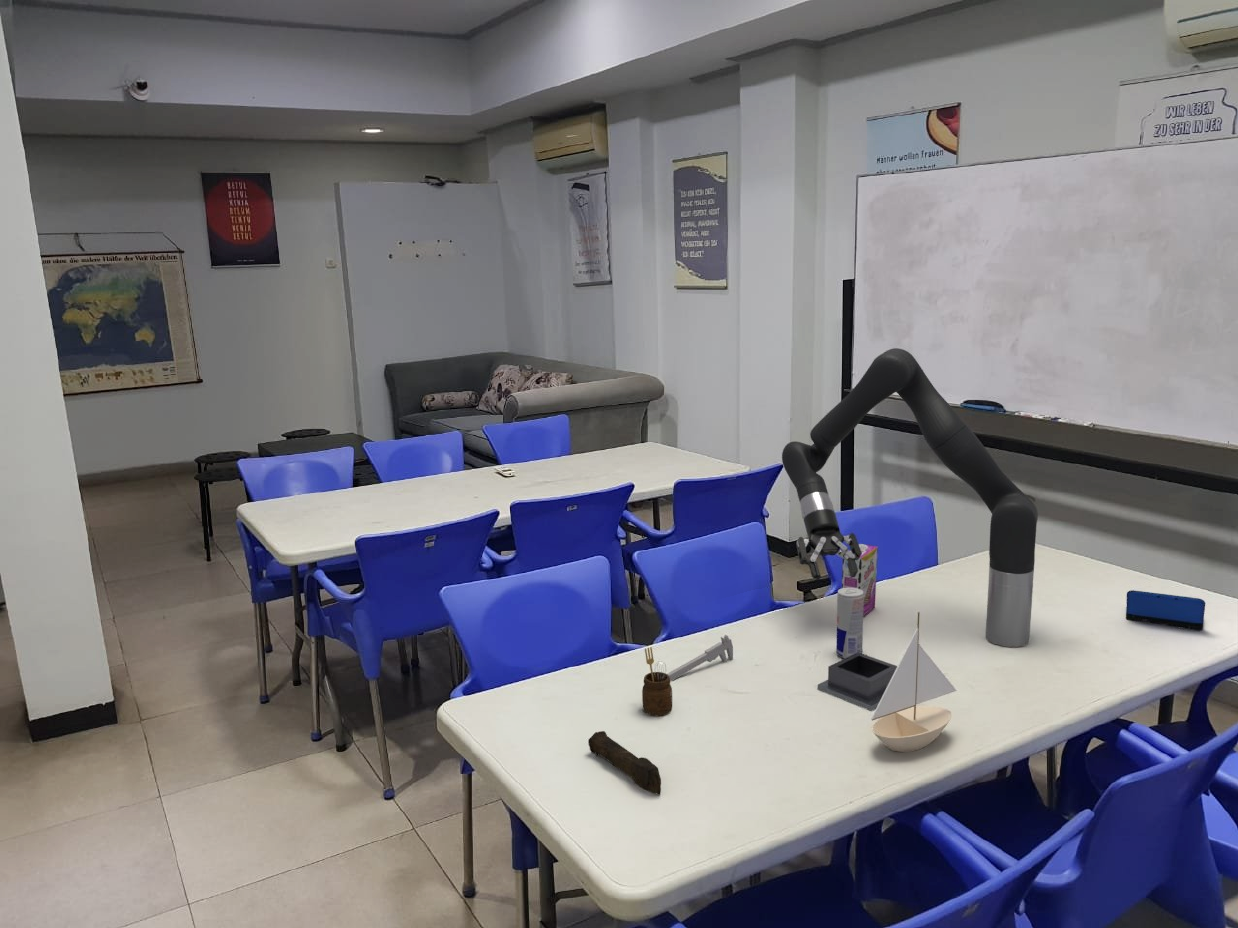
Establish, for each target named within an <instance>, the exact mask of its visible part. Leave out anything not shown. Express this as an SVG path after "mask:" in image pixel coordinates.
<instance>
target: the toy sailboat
mask: <svg viewBox="0 0 1238 928" xmlns="http://www.w3.org/2000/svg"><path fill="white" fill-rule="evenodd" d="M920 614H921V613H920V611H918V612H917V627H916V629H915V631H914V633H913V635H912V637H911V638H910V641H909V642H908V645H907V647H906V648H905V651H904V653H903V654H902V657H901V658H900V659H899V662H898V665H896V666H897V668H896V670H895V672H894V674H893V676H892V678H891V680H890V682H889V684H888V686H887V688H886V690H885V692H884V694H883V696H882V698H881V700H880V702H879V704H878V706H877V708H876V709H874V712H873V714H872V716H871V718H870V720H871V721H874V722H873V724H872V725H871V732H872V733H873V734H874V736H875V737H876V738H877V739H879V741H880V742H881V743H882V744H884V745H885V746H886V747H887V748H889V749H890V750H892V751H894V752H898V753H908V752H914V751H919V750H921V749H924V748H925V747H927V746H929V745H930V744H931V743H932V742H934V741H935V739H936V738H937V737H938V736H939V735H941V733H942V732H943V731H944V729H945V728H946V727H947V726H948V725H949V722H950V721H951V719H952V716H953V714H952V712H951V711H950V710H949V709H947V708H945V707H942V706H936V705H921V706H920V705H919V706H917V705H918V704H923V703H926V702H928V701H930V700H934V699H936V698H940V697H943V696H945V695H949V694H952V693H955V692H957V689H956V688H955V687H954V685H953V684H952V683H951V681H949V679H948V678H947V677H946V675H945V674H944V673H943V672H942V670H941V669H940V668H939V666H937V664H936V663H935V662H934V660H933V659H932V658H931V657H930V656H929V655H928V653H927V652H926V651H925V649H924V648H923V647H922V646H921V645H920V642H919V640H920V639H919V637H920V618H921V617H920ZM923 747H924V748H923Z"/></svg>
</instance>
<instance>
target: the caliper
mask: <svg viewBox="0 0 1238 928" xmlns="http://www.w3.org/2000/svg"><path fill="white" fill-rule="evenodd" d="M720 640H721V642H718V643H715V644H714V645H712V646H711V647H709V648H707V649H705V650H704V652H703V653H701V654H699V655H698V656H696V657H694V658H692V659H690V660H689V661H687V662H686V663H683V664H681V665H680V666H678V667H677V668H675V669H673V670H671V671H669V672H667V674H668V675H669V677H670V682H673V681H674V680H676V679H677V678H679V677H681V676H683V675H684V674H686V673H687V672H690V671H691V670H693V669H695V668H696V667H699V666H700V665H702V664H703V663H705V662H709V663H712V662H713V661H714V660H716V659H717V658H718V657H719V658H720V659H721V661H722V662H724V663H727V658H728V660H730V661H732V660H733V659H734V646H733V642H732V639H731V638H729V636H728V635H727V634H724V636H723V637H722V636H721V637H720Z"/></svg>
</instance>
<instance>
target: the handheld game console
mask: <svg viewBox="0 0 1238 928" xmlns="http://www.w3.org/2000/svg"><path fill="white" fill-rule="evenodd" d="M1125 610H1126V611H1125V612H1126V613H1125V619H1126V621H1131V622H1138V623H1139V621H1140V623H1145V622H1146V623H1147V624H1152V625H1154V624H1155V625H1163V624H1164V625H1165V626H1169V627H1173V628H1174V627H1175V628H1179V627H1180V628H1181V629H1187V630H1194V631H1202V630H1203V627H1204V619H1205V611H1206V602H1205V600H1204V599H1202V598H1199V597H1190V596H1183V595H1182V596H1181V595H1176V594H1165V593H1157V592H1151V591H1150V592H1149V591H1142V590H1141V591H1140V590H1133V589H1132V590H1129V591H1127V592H1126V607H1125Z"/></svg>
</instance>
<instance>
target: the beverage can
mask: <svg viewBox="0 0 1238 928" xmlns="http://www.w3.org/2000/svg"><path fill="white" fill-rule="evenodd" d="M836 596H837V597H836V641H835V642H836V649H835V650H836V651H835V652H836V654H837V655H838V656H839V657H840V658H843V659H845V658H847V657H849V656H851V655H853V654H855V653H857V652H858V653H861V654H863V645H864V644H863V642H864V641H863V639H864V638H863V635H864V617H863V603H864V596H863V591H862V590H860V589H858V588H849V587H848V588H842V587H841V588H840V589H838V590H837V595H836Z"/></svg>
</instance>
